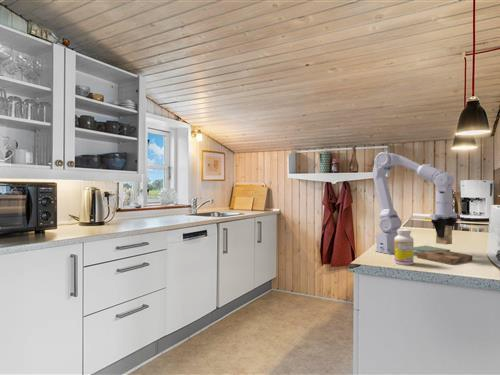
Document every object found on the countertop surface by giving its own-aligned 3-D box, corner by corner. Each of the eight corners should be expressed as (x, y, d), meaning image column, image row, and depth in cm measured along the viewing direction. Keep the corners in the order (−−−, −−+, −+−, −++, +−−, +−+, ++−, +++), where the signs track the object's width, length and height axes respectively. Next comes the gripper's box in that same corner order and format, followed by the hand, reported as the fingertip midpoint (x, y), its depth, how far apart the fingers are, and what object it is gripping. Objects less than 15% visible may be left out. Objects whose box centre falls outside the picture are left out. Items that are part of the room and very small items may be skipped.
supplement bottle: (397, 260, 138) (397, 228, 138) (415, 263, 134) (415, 229, 134) (392, 263, 133) (392, 230, 133) (410, 266, 129) (410, 231, 129)
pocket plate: (450, 264, 131) (450, 259, 131) (417, 257, 143) (417, 252, 143) (472, 260, 137) (472, 255, 137) (438, 254, 150) (438, 249, 150)
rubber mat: (432, 253, 151) (432, 252, 151) (408, 249, 162) (408, 247, 162) (449, 250, 157) (449, 249, 157) (425, 246, 167) (425, 245, 167)
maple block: (445, 244, 138) (445, 226, 137) (436, 243, 141) (436, 225, 141) (452, 243, 139) (452, 226, 139) (442, 242, 143) (442, 225, 143)
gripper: (442, 204, 133) (442, 239, 133) (465, 202, 140) (464, 236, 140) (425, 203, 139) (425, 237, 140) (447, 201, 146) (447, 234, 146)
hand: (444, 236), depth 140 cm, fingers closed on maple block, 4 cm apart
